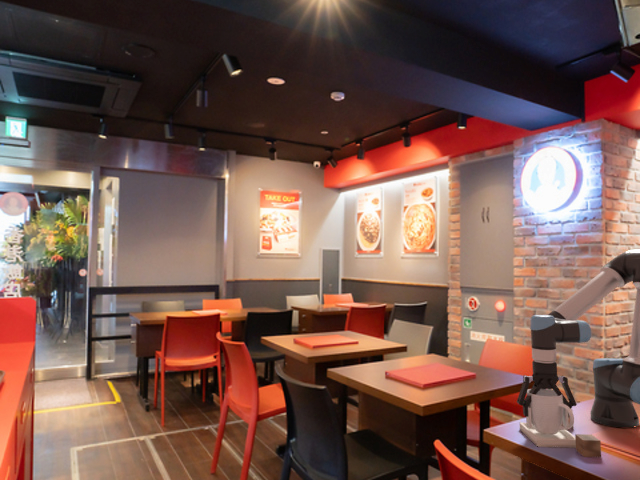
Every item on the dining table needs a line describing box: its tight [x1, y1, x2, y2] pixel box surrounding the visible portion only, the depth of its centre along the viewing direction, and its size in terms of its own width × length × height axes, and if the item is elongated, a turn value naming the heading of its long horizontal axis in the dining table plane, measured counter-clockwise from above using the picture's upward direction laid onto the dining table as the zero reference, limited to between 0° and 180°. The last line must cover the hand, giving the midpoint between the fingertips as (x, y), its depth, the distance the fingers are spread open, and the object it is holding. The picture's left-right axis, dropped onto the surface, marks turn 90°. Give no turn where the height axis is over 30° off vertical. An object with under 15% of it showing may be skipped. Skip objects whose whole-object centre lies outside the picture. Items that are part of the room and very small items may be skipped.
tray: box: [519, 422, 576, 449], centre depth 150 cm, size 13×16×2 cm
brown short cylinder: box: [561, 408, 574, 429], centre depth 162 cm, size 5×5×6 cm
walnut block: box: [574, 433, 602, 458], centre depth 137 cm, size 5×5×5 cm
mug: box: [526, 388, 575, 435], centre depth 150 cm, size 15×11×13 cm
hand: (547, 426), depth 150 cm, fingers closed on mug, 11 cm apart
